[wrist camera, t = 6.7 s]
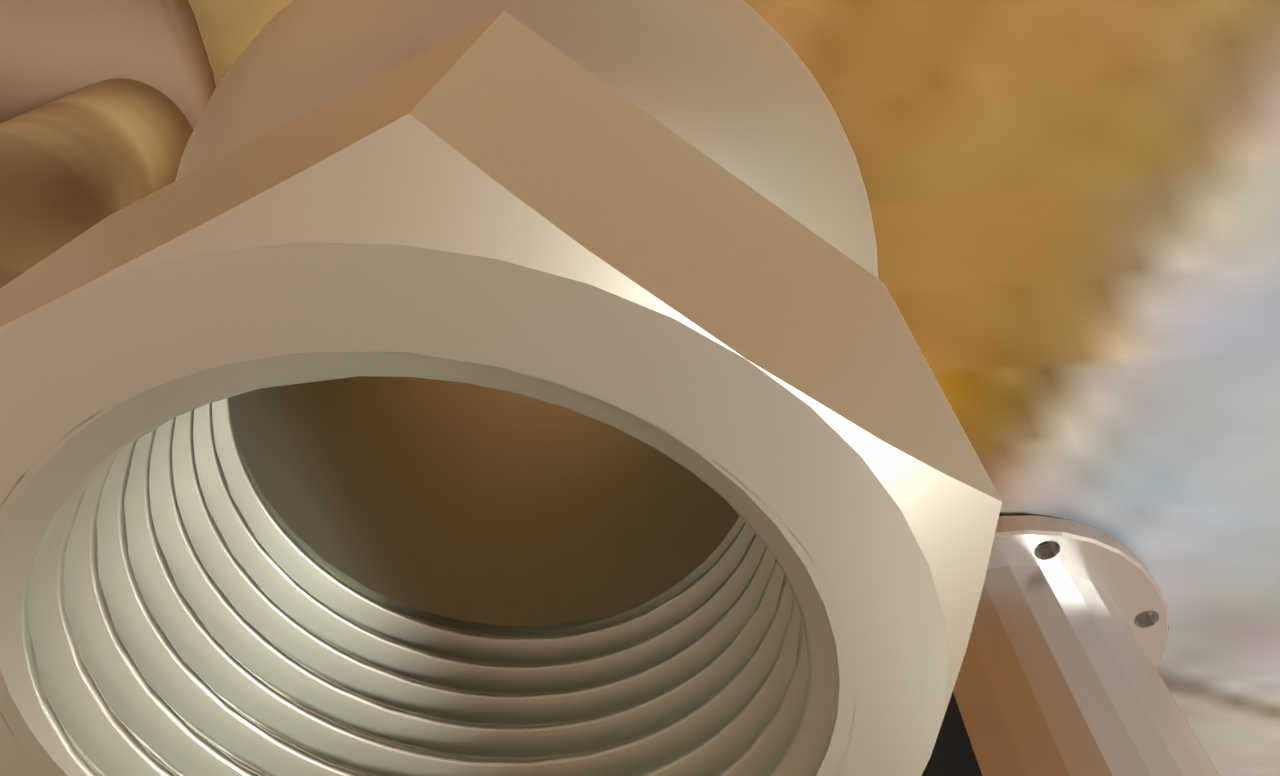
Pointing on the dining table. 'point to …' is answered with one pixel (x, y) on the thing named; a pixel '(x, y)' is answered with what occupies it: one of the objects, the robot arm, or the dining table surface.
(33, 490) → the valve
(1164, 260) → the dining table surface
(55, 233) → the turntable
